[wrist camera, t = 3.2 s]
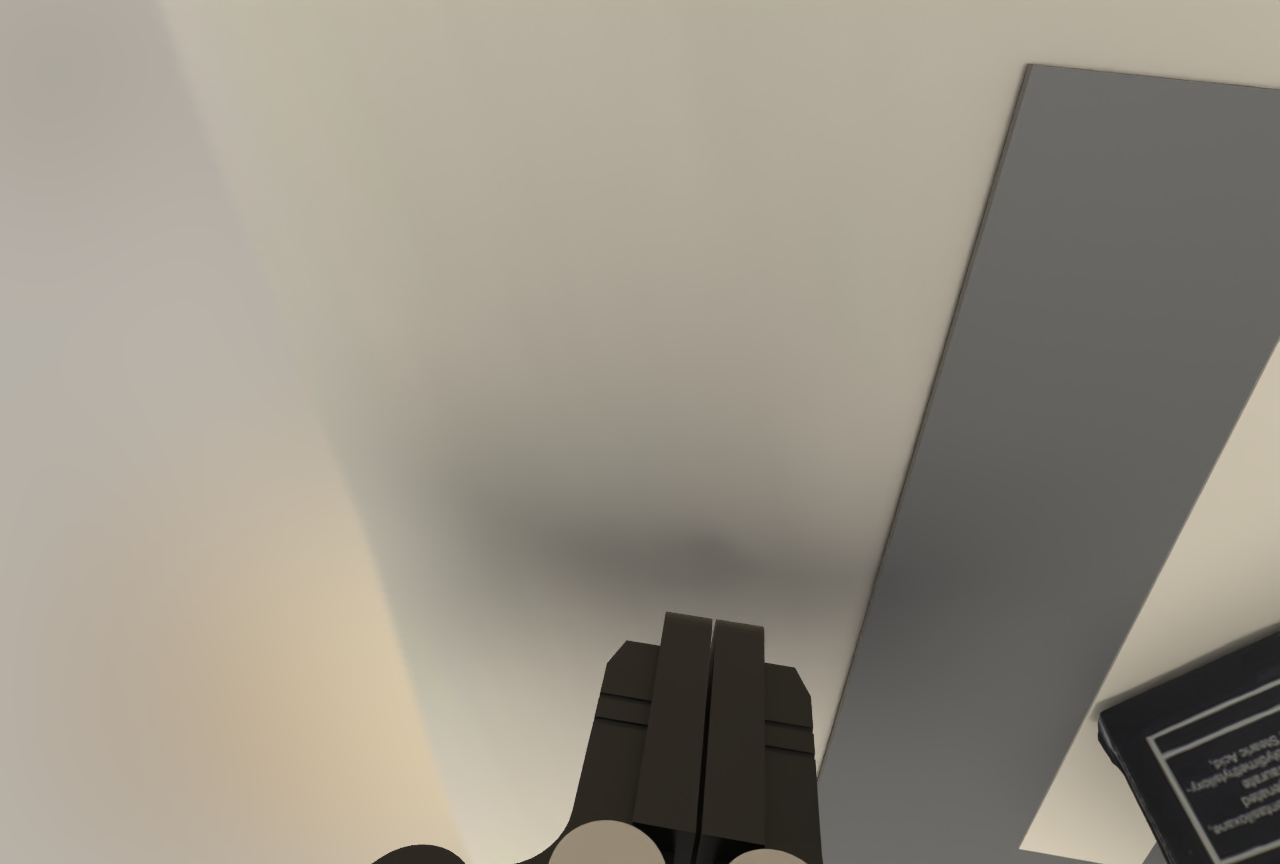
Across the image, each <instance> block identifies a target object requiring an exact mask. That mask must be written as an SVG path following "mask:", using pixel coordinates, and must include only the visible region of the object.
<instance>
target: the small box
mask: <svg viewBox="0 0 1280 864" xmlns="http://www.w3.org/2000/svg"><path fill="white" fill-rule="evenodd" d="M1098 741H1099V743H1100V744H1101V746H1102V748H1103V749H1104V751H1105V752H1106V754H1107V755H1108V756H1109V758H1110V760H1111V762H1112V763H1113V764H1114V765H1115V766H1117V767H1118V768H1119V770H1120V771H1121V772H1122V774H1123V775H1124V776H1125V778H1126V781H1127V783H1128V785H1129V787H1130V789H1131V791H1132V793H1133V795H1134V797H1135V799H1136V801H1137V803H1138V805H1139V807H1140V809H1141V811H1142V813H1143V815H1144V817H1145V819H1146V821H1147V823H1148V825H1149V827H1150V829H1151V831H1152V833H1153V835H1154V837H1155V839H1156V841H1157V843H1158V845H1159V848H1160V850H1161V852H1162V854H1163V856H1164V858H1165V860H1166V862H1167V864H1280V631H1279V632H1277V633H1275V634H1273V635H1271V636H1268V637H1266V638H1264V639H1261V640H1259V641H1257V642H1255V643H1253V644H1250V645H1248V646H1246V647H1244V648H1241V649H1239V650H1237V651H1235V652H1233V653H1230V654H1227V655H1225V656H1222V657H1221V658H1219V659H1216V660H1214V661H1212V662H1209V663H1207V664H1205V665H1204V666H1202V667H1199V668H1197V669H1194V670H1192V671H1190V672H1188V673H1186V674H1184V675H1182V676H1180V677H1177V678H1175V679H1172V680H1170V681H1167V682H1165V683H1163V684H1161V685H1159V686H1156V687H1154V688H1151V689H1149V690H1147V691H1145V692H1143V693H1141V694H1139V695H1137V696H1134V697H1132V698H1130V699H1128V700H1126V701H1124V702H1122V703H1119V704H1117V705H1115V706H1113V707H1111V708H1108V709H1106V710H1104V711H1102V712H1101V713H1100V715H1099V721H1098Z"/></svg>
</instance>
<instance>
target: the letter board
mask: <svg viewBox="0 0 1280 864" xmlns="http://www.w3.org/2000/svg"><path fill="white" fill-rule="evenodd" d="M1279 631H1280V90H1277V89H1268V88H1258V87H1248V86H1238V85H1229V84H1219V83H1209V82H1199V81H1190V80H1180V79H1170V78H1160V77H1151V76H1141V75H1131V74H1121V73H1112V72H1102V71H1092V70H1082V69H1073V68H1063V67H1053V66H1043V65H1034V64H1028V68H1027V71H1026V74H1025V78H1024V81H1023V84H1022V88H1021V91H1020V95H1019V98H1018V101H1017V105H1016V108H1015V112H1014V115H1013V118H1012V122H1011V125H1010V129H1009V132H1008V135H1007V139H1006V142H1005V146H1004V149H1003V152H1002V156H1001V159H1000V163H999V166H998V169H997V173H996V176H995V180H994V183H993V186H992V190H991V193H990V197H989V200H988V203H987V207H986V210H985V213H984V217H983V220H982V224H981V227H980V230H979V234H978V237H977V241H976V244H975V247H974V251H973V254H972V258H971V261H970V264H969V268H968V271H967V275H966V278H965V281H964V285H963V288H962V292H961V295H960V298H959V302H958V305H957V309H956V312H955V315H954V319H953V322H952V326H951V329H950V332H949V336H948V339H947V342H946V346H945V349H944V353H943V356H942V359H941V363H940V366H939V370H938V373H937V376H936V380H935V383H934V387H933V390H932V393H931V397H930V400H929V404H928V407H927V410H926V414H925V417H924V421H923V424H922V427H921V431H920V434H919V438H918V441H917V444H916V448H915V451H914V455H913V458H912V461H911V465H910V468H909V471H908V475H907V478H906V482H905V485H904V488H903V492H902V495H901V499H900V502H899V505H898V509H897V512H896V516H895V519H894V522H893V526H892V529H891V533H890V536H889V539H888V543H887V546H886V550H885V553H884V556H883V560H882V563H881V567H880V570H879V573H878V577H877V580H876V584H875V587H874V590H873V594H872V597H871V600H870V604H869V607H868V611H867V614H866V617H865V621H864V624H863V628H862V631H861V634H860V638H859V641H858V645H857V648H856V651H855V655H854V658H853V662H852V665H851V668H850V672H849V675H848V679H847V682H846V685H845V689H844V692H843V696H842V699H841V702H840V706H839V709H838V713H837V716H836V719H835V723H834V726H833V729H832V733H831V736H830V740H829V743H828V746H827V750H826V753H825V757H824V760H823V763H822V767H821V770H820V774H819V777H818V780H817V791H818V805H819V819H820V833H821V847H822V858H823V864H1167V862H1166V860H1165V858H1164V856H1163V854H1162V852H1161V850H1160V848H1159V845H1158V843H1157V841H1156V839H1155V837H1154V835H1153V833H1152V831H1151V829H1150V827H1149V825H1148V823H1147V821H1146V819H1145V817H1144V815H1143V813H1142V811H1141V809H1140V807H1139V805H1138V803H1137V801H1136V799H1135V797H1134V795H1133V793H1132V791H1131V789H1130V787H1129V785H1128V783H1127V781H1126V778H1125V776H1124V775H1123V774H1122V772H1121V771H1120V770H1119V768H1118V767H1117V766H1115V765H1114V764H1113V763H1112V762H1111V760H1110V758H1109V756H1108V755H1107V754H1106V752H1105V751H1104V749H1103V748H1102V746H1101V744H1100V743H1099V741H1098V721H1099V715H1100V713H1101V712H1102V711H1104V710H1106V709H1108V708H1111V707H1113V706H1115V705H1117V704H1119V703H1122V702H1124V701H1126V700H1128V699H1130V698H1132V697H1134V696H1137V695H1139V694H1141V693H1143V692H1145V691H1147V690H1149V689H1151V688H1154V687H1156V686H1159V685H1161V684H1163V683H1165V682H1167V681H1170V680H1172V679H1175V678H1177V677H1180V676H1182V675H1184V674H1186V673H1188V672H1190V671H1192V670H1194V669H1197V668H1199V667H1202V666H1204V665H1205V664H1207V663H1209V662H1212V661H1214V660H1216V659H1219V658H1221V657H1222V656H1225V655H1227V654H1230V653H1233V652H1235V651H1237V650H1239V649H1241V648H1244V647H1246V646H1248V645H1250V644H1253V643H1255V642H1257V641H1259V640H1261V639H1264V638H1266V637H1268V636H1271V635H1273V634H1275V633H1277V632H1279Z"/></svg>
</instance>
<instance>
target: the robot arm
mask: <svg viewBox="0 0 1280 864" xmlns="http://www.w3.org/2000/svg"><path fill="white" fill-rule="evenodd" d="M711 634H712V619H710V618H703V617H697V616H691V615H685V614H678V613H672V612H666V614H665V621H664V627H663V633H662V639H661V646H657V645H651V644H645V643H639V642H633V641H626V642H625V643H624V644H623V645H622V647H621V648H620V649H619V650H618V651H617V652H616V654H615V655H614V656H613V657H612V658H611V659H610V661H609V662H608V663H607V666H606V670H605V675H604V679H603V683H602V687H601V692H600V697H599V700H598V704H597V709H596V713H595V718H594V722H593V726H592V730H591V734H590V738H589V743H588V747H587V751H586V755H585V760H584V764H583V768H582V772H581V777H580V781H579V785H578V789H577V794H576V798H575V802H574V806H573V811H572V814H571V817H570V820H569V822H568V824H567V826H566V828H565V830H564V831H563V833H562V834H561V835H560V837H559V838H558V839H557V840H556V841H555V842H554V843H553V844H552V845H551V846H550V847H549V848H547V849H546V850H545V851H543V852H542V853H540V854H538V855H537V856H535V857H533V858H531V859H528V860H526V861H523V862H520V863H516V864H823V858H822V847H821V833H820V819H819V805H818V791H817V777H816V762H815V760H814V755H815V748H814V734H813V733H812V732H813V720H812V706H811V696H810V694H809V692H808V691H807V689H806V687H805V685H804V683H803V682H802V680H801V678H800V676H799V674H798V673H797V671H796V669H795V668H794V667H788V666H781V665H775V664H769V663H764V628H763V627H761V626H755V625H748V624H742V623H736V622H730V621H723V620H717V619H716V621H715V626H714V631H713V637H712V643H711ZM710 646H711V648H710ZM372 864H465V863H464V862H463V861H462V860H461V859H460V858H459V857H458V856H457V855H455V854H454V853H452V852H451V851H449V850H447V849H444V848H442V847H437V846H434V845H411V846H407V847H403V848H400V849H398V850H395V851H392V852H390V853H388V854H386V855H385V856H383V857H381V858H380V859H378V860H377V861H375V862H374V863H372Z"/></svg>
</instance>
